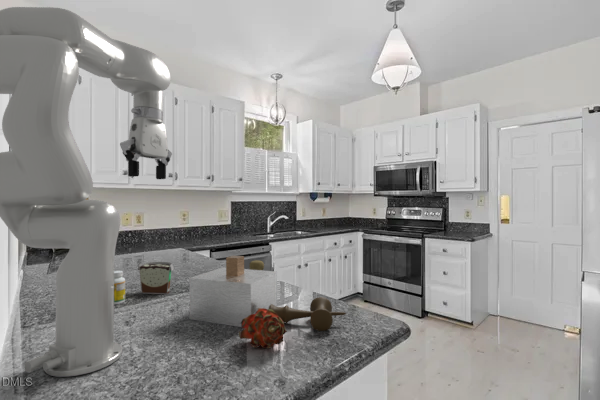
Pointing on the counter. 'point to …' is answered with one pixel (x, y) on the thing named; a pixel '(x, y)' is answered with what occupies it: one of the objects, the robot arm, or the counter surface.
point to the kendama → (310, 313)
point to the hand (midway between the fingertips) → (147, 177)
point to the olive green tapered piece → (256, 265)
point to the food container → (155, 277)
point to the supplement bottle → (119, 287)
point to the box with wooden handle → (231, 293)
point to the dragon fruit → (263, 328)
